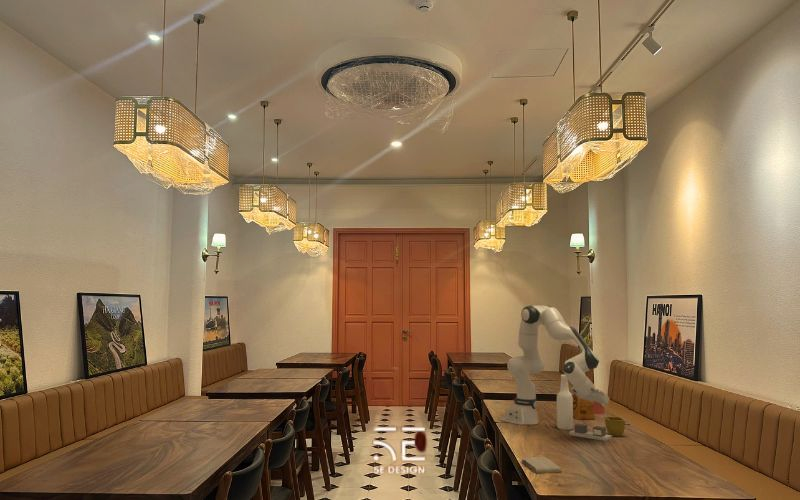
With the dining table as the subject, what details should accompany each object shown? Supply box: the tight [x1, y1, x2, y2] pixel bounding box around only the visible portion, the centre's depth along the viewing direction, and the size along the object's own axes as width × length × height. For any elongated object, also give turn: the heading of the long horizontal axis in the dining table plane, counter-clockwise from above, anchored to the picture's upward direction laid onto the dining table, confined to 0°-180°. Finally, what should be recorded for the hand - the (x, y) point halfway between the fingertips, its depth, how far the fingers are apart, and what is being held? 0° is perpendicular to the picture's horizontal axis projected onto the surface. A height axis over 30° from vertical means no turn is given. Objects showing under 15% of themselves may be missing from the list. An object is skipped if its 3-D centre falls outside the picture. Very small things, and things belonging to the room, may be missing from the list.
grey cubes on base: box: [568, 422, 613, 442], centre depth 298 cm, size 20×8×6 cm, turn 51°
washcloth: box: [521, 456, 562, 474], centre depth 242 cm, size 12×18×3 cm, turn 10°
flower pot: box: [604, 416, 626, 437], centre depth 302 cm, size 9×9×9 cm
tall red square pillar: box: [593, 402, 606, 416], centre depth 296 cm, size 4×4×8 cm
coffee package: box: [572, 392, 596, 421], centre depth 347 cm, size 10×12×22 cm
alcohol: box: [556, 374, 574, 431], centre depth 318 cm, size 9×9×30 cm
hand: (599, 405), depth 297 cm, fingers closed on tall red square pillar, 4 cm apart
